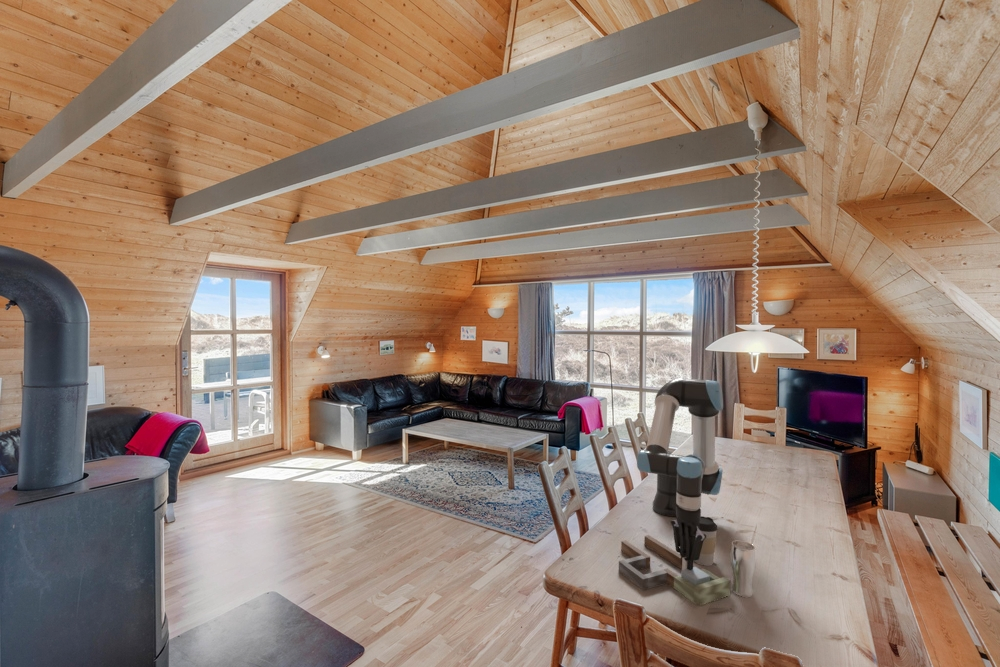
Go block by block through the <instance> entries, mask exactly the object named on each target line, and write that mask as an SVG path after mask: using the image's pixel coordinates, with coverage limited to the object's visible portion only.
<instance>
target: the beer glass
mask: <svg viewBox="0 0 1000 667" xmlns="http://www.w3.org/2000/svg"><path fill="white" fill-rule="evenodd" d="M730 566H731V572H732V584H731V586H730V589H731V590H730V591H731V592H732V591H733V592H734V593H733V592H732V593H733V594H735V595H736V594H737V595H736V596H738V595H739V596H738V597H741V596H742V598H751V597H753V595H754V592H753V588H752V583H753V578H754V573H755V568H756V547H755V545H754V544H752V543H750V542H748V541H744V540H737V539H736V540H732V542H731V547H730Z"/></svg>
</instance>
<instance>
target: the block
mask: <svg viewBox="0 0 1000 667" xmlns="http://www.w3.org/2000/svg"><path fill="white" fill-rule="evenodd" d="M680 570H681V571H680V572H681V576H680V577H682V578H683V579H685V580H686V581H688V582H689V583H691V584H692V585H694V586H696V585H699V584H703V583H706V582H709V581H710V575H708V574H706V573H705V572H703V571H702V570H700V569H698V568H697V567H693V569H692V570H688V569H685V570H682V569H680Z"/></svg>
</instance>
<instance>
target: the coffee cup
mask: <svg viewBox="0 0 1000 667" xmlns="http://www.w3.org/2000/svg"><path fill="white" fill-rule="evenodd" d="M699 526H700V531H701V533H702V534H705V535H706V538H705V540H704V541H703V545H702V549H701V553H700V557H699V560H695V561H693V563H695V564H697V565H700V566H701V565H702V566H705V567H706V566H712V565H713V564H714V556H715V551H716V544H717V532H718V525H717V524H716V523H715V521H714V519H713V518H711V517H709V516H702V515H701V519H700V521H699ZM696 535H697V534H696Z"/></svg>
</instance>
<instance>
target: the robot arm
mask: <svg viewBox="0 0 1000 667" xmlns="http://www.w3.org/2000/svg"><path fill="white" fill-rule="evenodd" d="M723 397H724V396H723V390H722V385H721V383H720V382H719V381H717V380H710V379H696V378H695V379H694V378H691V379H690V378H675V379H672V380H670V381H668V382H666V383H665V384H664V385H662V386H661V388H660V389H659V390H658V391H657V393H656V395H655V398H654V406H655V409H654V413H653V417H652V422H651V426H650V431H649V435H648V440H647V444H646V448H645V449H640V450H639V451H638V453H637V456H636V466H637V469H638V471H640V472H643V473H648V474H655V475H657V476H656V477H657V478H656V480H657V481H656V492H655V496H654V498H653V501H652V509H653V510H654V512H656V513H658V514H660V515H663V516H667V517H673V518H675V517H676V519H674V520H670V524H671V527H672V533H673V541H674V546H675V551H676V552H677V553H679V554H680V556H681V565H682V569H681V570H685V569H688V570H692V569H693V563H694V561H695V560H699V557H700V553H701V549H702V545H703V541H704V540H705V538H706V535H705V534H702V533H701V531H700V526H699V521H700V519H701V516H702V509H701V508H702V494H705V495H710V496H711V495H712V496H717V495H719V493H720V491H721V486H722V478H723V472H724V471H723V468H721V467H720V465H719V464H718V462H717V461H716V417H717V416H718V415H719V413H720V411H723V408H724V398H723ZM680 407H681V408H682V407H683V408H688V413H689V414H690V415H691V417H692V418H691V420H692V454H688V455H685V456H684V455H678V454H672V453H669V449H670V443H671V438H672V432H673V427H674V421H675V417H676V412H677V411H678V410H679V409H680ZM696 534H697V535H696Z"/></svg>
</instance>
